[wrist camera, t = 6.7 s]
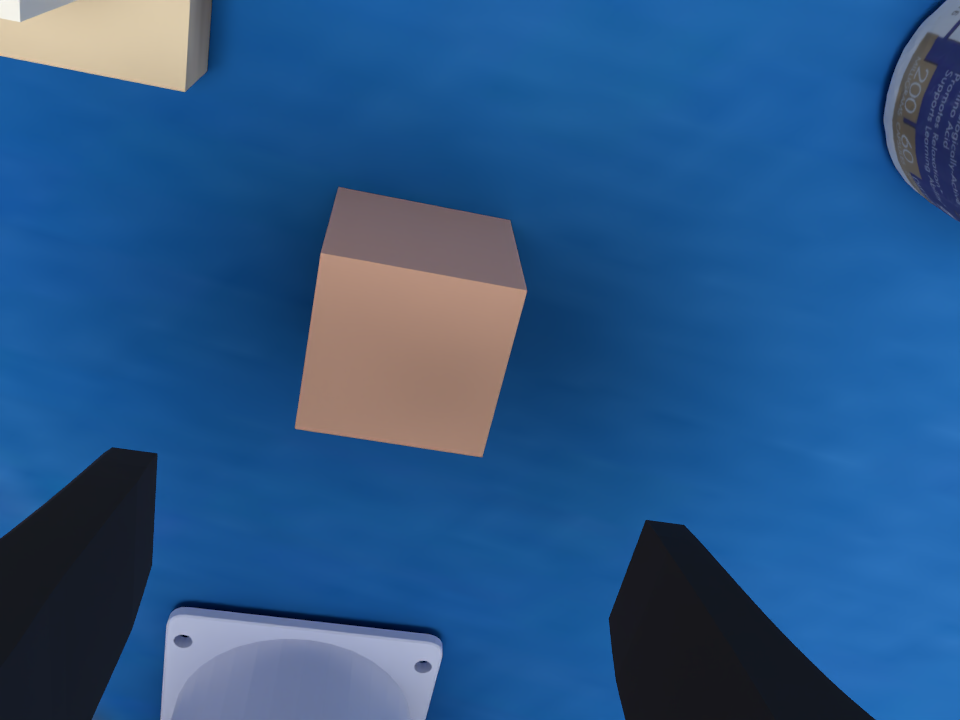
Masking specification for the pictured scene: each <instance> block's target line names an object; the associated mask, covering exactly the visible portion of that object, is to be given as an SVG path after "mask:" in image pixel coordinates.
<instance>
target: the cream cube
mask: <svg viewBox="0 0 960 720" xmlns="http://www.w3.org/2000/svg"><path fill="white" fill-rule="evenodd" d="M74 1H77V0H0V18H2V19H7V20H12V21H17V22H22V21H25V20H27V19H30V18H32V17H35V16H38V15H40V14H43V13H45V12H48V11H51V10H53V9H56V8H59V7H61V6H64V5H66V4H69V3H72V2H74Z"/></svg>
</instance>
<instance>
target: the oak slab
mask: <svg viewBox="0 0 960 720" xmlns="http://www.w3.org/2000/svg"><path fill="white" fill-rule="evenodd" d="M211 8H212V0H77V1H74V2H72V3H69V4H66V5H64V6H61V7H59V8H56V9H53V10H51V11H48V12H45V13H43V14H40V15H38V16H35V17H32V18H30V19H27V20H25V21H22V22H17V21H12V20H7V19H2V18H0V56H4V57H9V58H14V59H20V60H25V61H30V62H35V63H40V64H45V65H50V66H55V67H60V68H65V69H70V70H76V71H81V72H86V73H91V74H96V75H101V76H106V77H111V78H116V79H121V80H126V81H132V82H137V83H142V84H147V85H152V86H157V87H162V88H167V89H172V90H177V91H182V92H186V91H187V90H188V89H189V88H190V87H191V86H192V85H193V84H194V83H195V82H196V81H197V80H198V79H199V78H200V77H201V76H203V75H204V74H205V73H206V72H207V67H208V52H209V37H210V22H211Z"/></svg>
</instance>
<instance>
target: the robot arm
mask: <svg viewBox="0 0 960 720" xmlns="http://www.w3.org/2000/svg"><path fill="white" fill-rule="evenodd" d="M156 473H157V453H150V452H142V451H135V450H128V449H120V448H113V447H112V448H111V449H109V450H108V451H106V452H105V453H103V454H102V455H101V456H100V457H99V458H98V459H97V460H95V461H94V462H93V463H92V464H91V465H90V466H89V467H87V468H86V469H85V470H84V471H83V472H82V473H80V474H79V475H78V476H77V477H76V478H75V479H74V480H72V481H71V482H70V483H69V484H68V485H67V486H65V487H64V488H63V489H62V490H61V491H59V492H58V493H57V494H56V495H55V496H53V497H52V498H51V499H50V500H49V501H47V502H46V503H45V504H44V505H43V506H41V507H40V508H39V509H37V510H36V511H35V512H34V513H32V514H31V515H30V516H29V517H27V518H26V519H25V520H24V521H22V522H21V523H20V524H18V525H17V526H16V527H15V528H13V529H12V530H11V531H10V532H8V533H7V534H6V535H4V536H3V537H2V538H0V720H91V719H92V717H93V715H94V713H95V711H96V708H97V706H98V704H99V702H100V699H101V697H102V695H103V693H104V691H105V688H106V686H107V684H108V682H109V680H110V677H111V675H112V673H113V671H114V668H115V666H116V664H117V662H118V660H119V657H120V655H121V653H122V651H123V648H124V646H125V644H126V642H127V639H128V637H129V635H130V632H131V630H132V627H133V624H134V621H135V618H136V615H137V612H138V609H139V606H140V602H141V599H142V596H143V593H144V589H145V586H146V583H147V579H148V576H149V573H150V570H151V566H152V554H153V533H154V513H155V493H156ZM609 625H610V635H611V644H612V654H613V661H614V669H615V677H616V683H617V687H618V691H619V696H620V700H621V704H622V708H623V712H624V716H625V720H875V719H874V718H873V717H871V716H870V715H869V714H868V713H867V712H866V711H864V710H863V709H862V708H861V707H860V706H859V705H857V704H856V703H855V702H854V701H853V700H852V699H850V698H849V697H848V696H847V695H846V694H845V693H844V692H843V691H841V690H840V689H839V688H838V687H837V686H836V685H835V684H834V683H833V682H832V681H831V680H829V679H828V678H827V677H826V676H825V675H824V674H823V673H822V672H821V671H820V670H819V669H818V668H817V667H816V666H815V665H814V664H813V663H812V662H811V661H810V660H809V659H808V658H807V657H806V656H805V655H804V654H803V653H802V652H801V651H800V650H799V649H798V648H797V647H796V646H795V645H794V644H793V643H792V642H791V641H790V640H789V639H788V638H787V637H786V636H785V635H784V634H783V633H782V632H781V631H780V630H779V629H778V628H777V627H776V626H775V624H774V623H773V622H772V621H771V620H770V619H769V618H768V617H767V616H766V615H765V614H764V613H763V612H762V610H761V609H760V608H759V607H758V606H757V605H756V604H755V603H754V602H753V601H752V600H751V598H750V597H749V596H748V595H747V594H746V593H745V592H744V591H743V590H742V588H741V587H740V586H739V585H738V584H737V583H736V582H735V581H734V579H733V578H732V577H731V576H730V575H729V574H728V573H727V572H726V570H725V569H724V568H723V567H722V566H721V565H720V564H719V563H718V561H717V560H716V559H715V558H714V557H713V556H712V555H711V554H710V552H709V551H708V550H707V549H706V548H705V547H704V546H703V545H702V543H701V542H700V541H699V540H698V539H697V538H696V537H695V536H694V535H693V534H692V533H691V532H690V531H689V530H688V529H687V528H686V527H685V526H684V525H680V524H672V523H665V522H657V521H650V520H646V521H645V524H644V527H643V529H642V532H641V535H640V537H639V540H638V543H637V545H636V548H635V550H634V553H633V556H632V558H631V561H630V564H629V566H628V569H627V572H626V574H625V577H624V580H623V582H622V585H621V588H620V590H619V593H618V596H617V598H616V601H615V604H614V606H613V609H612V612H611V614H610V617H609ZM180 635H187V636H189V637H187V638H185V637H182V636H180ZM441 659H442V642H441V640H440V639H439V638H437V637H436V636H434V635H430V634H423V633H414V632H405V631H396V630H387V629H378V628H370V627H361V626H352V625H343V624H334V623H325V622H316V621H307V620H299V619H290V618H281V617H272V616H263V615H254V614H245V613H237V612H228V611H219V610H210V609H201V608H192V607H180V608H177V609H175V610H174V611H173V612H171V614H170V617H169V619H168V622H167V625H166V640H165V656H164V671H163V687H162V703H161V718H160V720H425V719H426V716H427V712H428V708H429V704H430V701H431V697H432V693H433V689H434V686H435V682H436V678H437V674H438V671H439V667H440V663H441ZM419 661H427V662H426V663H420V662H419Z"/></svg>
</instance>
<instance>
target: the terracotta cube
mask: <svg viewBox="0 0 960 720" xmlns="http://www.w3.org/2000/svg"><path fill="white" fill-rule="evenodd" d="M526 293H527V288H526V284H525V279H524V275H523V271H522V267H521V263H520V259H519V254H518V250H517V246H516V242H515V238H514V234H513V230H512V225H511V221H510V220H506V219H501V218H496V217H491V216H486V215H480V214H475V213H470V212H465V211H460V210H455V209H450V208H444V207H439V206H434V205H429V204H424V203H419V202H414V201H408V200H403V199H398V198H393V197H388V196H383V195H377V194H372V193H367V192H362V191H357V190H352V189H347V188H341V187H338V190H337V194H336V198H335V202H334V205H333V209H332V213H331V216H330V220H329V224H328V228H327V231H326V235H325V239H324V243H323V246H322V250H321V255H320V261H319V268H318V275H317V282H316V288H315V295H314V302H313V309H312V316H311V322H310V329H309V336H308V343H307V350H306V356H305V363H304V370H303V377H302V383H301V390H300V397H299V404H298V411H297V417H296V424H295V429H299V430H306V431H313V432H319V433H326V434H332V435H339V436H345V437H352V438H359V439H365V440H372V441H378V442H385V443H391V444H398V445H405V446H411V447H418V448H424V449H431V450H437V451H444V452H451V453H457V454H464V455H470V456H477V457H482V456H483V452H484V449H485V445H486V441H487V438H488V434H489V430H490V426H491V423H492V419H493V415H494V412H495V408H496V404H497V401H498V397H499V393H500V389H501V386H502V382H503V378H504V375H505V371H506V367H507V364H508V360H509V356H510V352H511V349H512V345H513V341H514V338H515V334H516V330H517V327H518V323H519V319H520V315H521V312H522V308H523V304H524V301H525V297H526Z"/></svg>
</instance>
